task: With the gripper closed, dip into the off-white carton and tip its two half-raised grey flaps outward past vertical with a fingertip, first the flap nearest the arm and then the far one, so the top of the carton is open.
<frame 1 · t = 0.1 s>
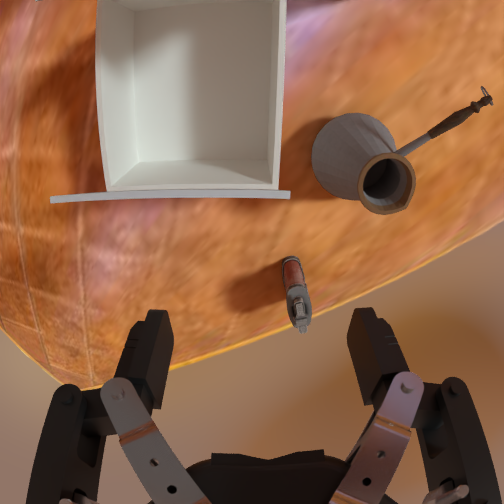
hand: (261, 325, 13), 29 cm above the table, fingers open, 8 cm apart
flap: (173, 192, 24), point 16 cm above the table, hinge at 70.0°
coffee pot: (373, 128, 35), on the table
carton: (200, 79, 32), on the table
lighter: (293, 276, 48), on the table
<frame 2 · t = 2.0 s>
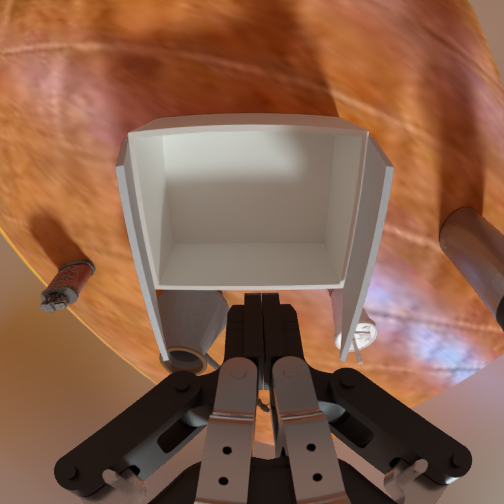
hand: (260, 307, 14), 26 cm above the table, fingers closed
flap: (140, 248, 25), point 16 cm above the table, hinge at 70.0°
smoothie: (341, 293, 48), on the table
coffee pot: (219, 313, 50), on the table
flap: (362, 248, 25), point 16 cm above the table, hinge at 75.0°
carton: (248, 183, 38), on the table
lighter: (77, 268, 45), on the table
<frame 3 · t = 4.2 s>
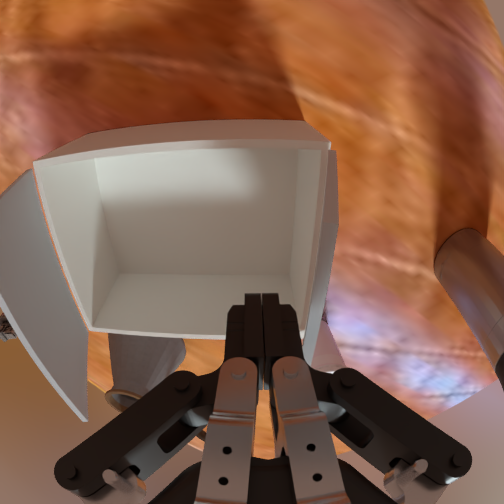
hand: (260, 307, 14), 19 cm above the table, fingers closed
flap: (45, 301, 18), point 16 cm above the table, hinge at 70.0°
smoothie: (315, 327, 41), on the table
coffee pot: (178, 345, 44), on the table
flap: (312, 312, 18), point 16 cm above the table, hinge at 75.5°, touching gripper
carton: (194, 206, 31), on the table
lighter: (32, 293, 39), on the table
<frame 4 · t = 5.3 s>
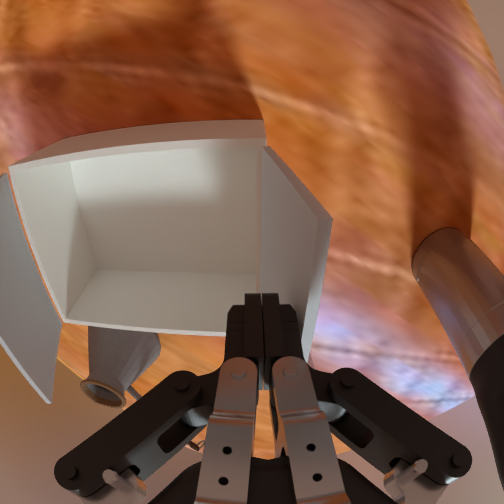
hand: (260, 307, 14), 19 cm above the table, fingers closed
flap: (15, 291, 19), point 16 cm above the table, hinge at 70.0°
coffee pot: (156, 341, 44), on the table
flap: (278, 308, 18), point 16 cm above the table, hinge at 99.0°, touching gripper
carton: (161, 205, 32), on the table
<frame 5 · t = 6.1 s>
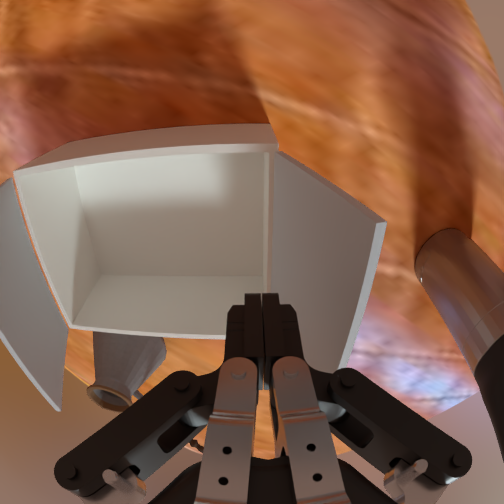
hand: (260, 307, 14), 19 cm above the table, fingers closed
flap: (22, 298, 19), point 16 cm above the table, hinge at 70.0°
coffee pot: (161, 345, 44), on the table
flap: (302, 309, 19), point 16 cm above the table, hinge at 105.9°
carton: (167, 210, 32), on the table
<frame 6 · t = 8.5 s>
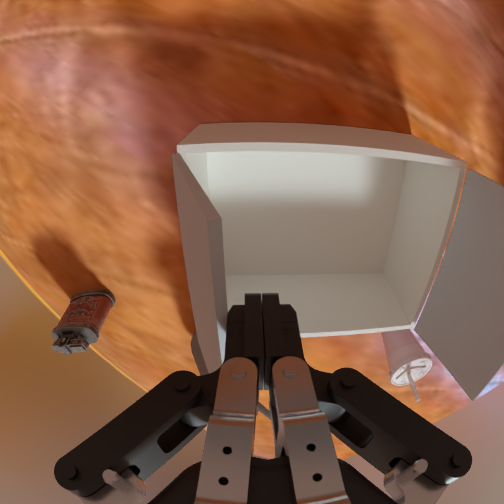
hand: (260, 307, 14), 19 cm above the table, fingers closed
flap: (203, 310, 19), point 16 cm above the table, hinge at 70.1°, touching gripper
smoothie: (390, 322, 42), on the table
coffee pot: (259, 347, 44), on the table
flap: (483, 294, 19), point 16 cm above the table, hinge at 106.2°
carton: (308, 207, 32), on the table
lighter: (93, 298, 39), on the table
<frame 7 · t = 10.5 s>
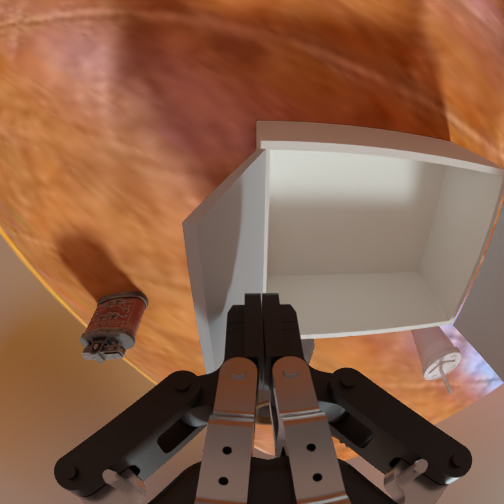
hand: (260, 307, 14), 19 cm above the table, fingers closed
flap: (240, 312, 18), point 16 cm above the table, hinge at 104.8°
smoothie: (419, 319, 42), on the table
coffee pot: (294, 346, 44), on the table
carton: (356, 208, 32), on the table
lighter: (123, 301, 39), on the table
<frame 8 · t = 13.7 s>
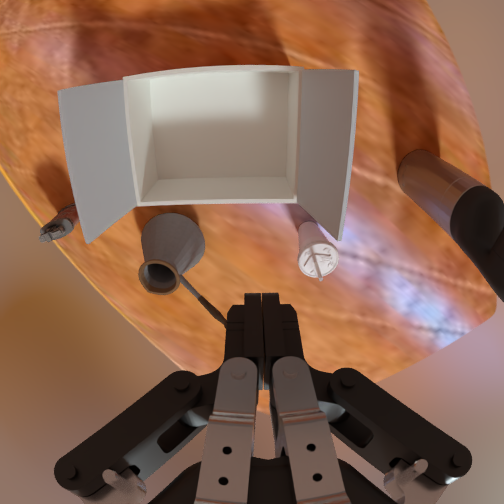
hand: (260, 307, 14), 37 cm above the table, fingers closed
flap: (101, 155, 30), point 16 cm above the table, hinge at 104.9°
smoothie: (308, 230, 54), on the table
coffee pot: (197, 249, 56), on the table
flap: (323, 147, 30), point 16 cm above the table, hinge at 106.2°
carton: (219, 125, 43), on the table
lighter: (74, 211, 51), on the table
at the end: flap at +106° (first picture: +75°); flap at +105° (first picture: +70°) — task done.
